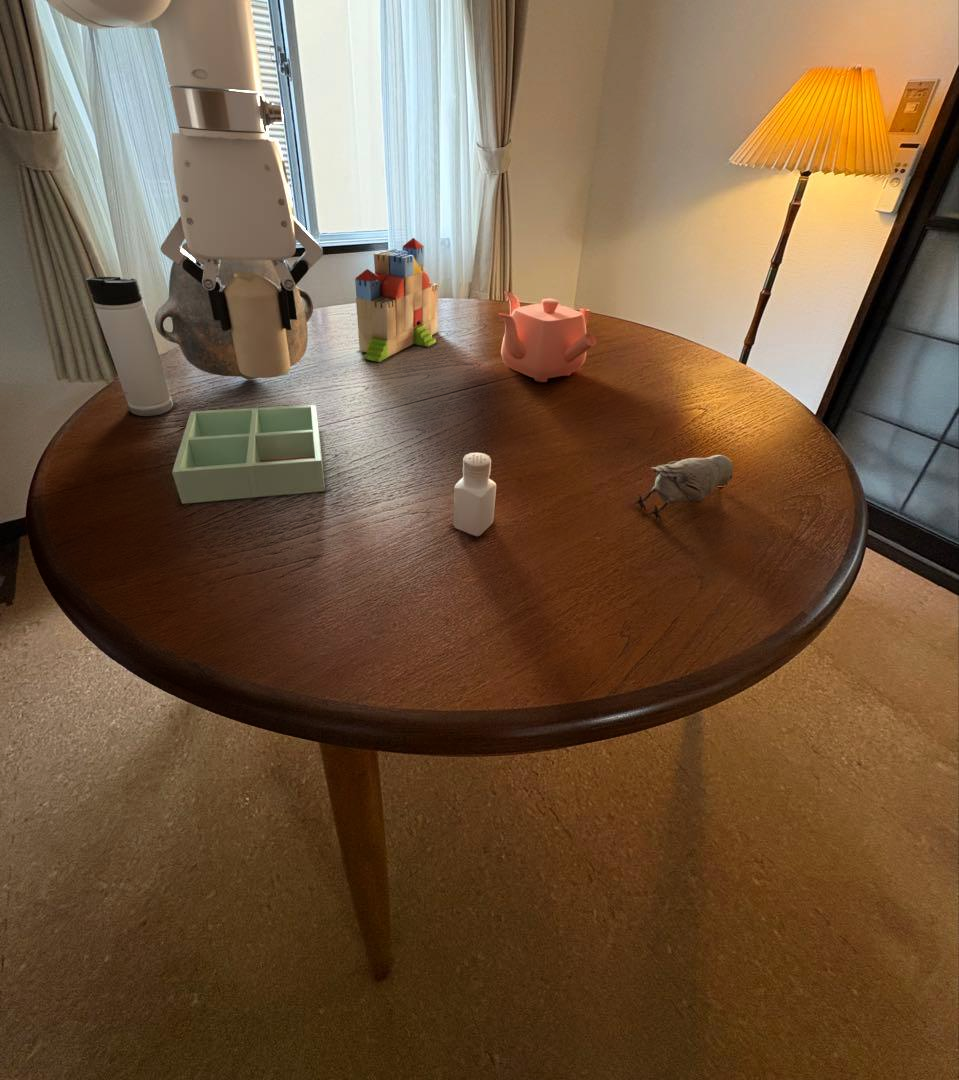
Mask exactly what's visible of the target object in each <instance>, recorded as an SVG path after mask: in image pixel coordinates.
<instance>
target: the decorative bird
mask: <svg viewBox="0 0 959 1080" xmlns="http://www.w3.org/2000/svg"><path fill="white" fill-rule="evenodd" d="M649 468H650V469H654V470H652V472H653V473H656V475H657V476H656V477H655V481H654V486H653V487H652V488H651V489H650V490H649V492H648V493H647V495H646V496H645V497H644V498H643V497H642V495H641V494H638V496H639V498H638V500H637V501H636V502H634V503H633V504H634V505H636V504H638V505H639V506H640V508H639V510H640V511H641V510H642V508H643V509H644V512H647V511H646V510H647V509H646V505H645V504H644V501H646V500H648V498H649V497H650V496H651V495H652V494H653V493H657V494H658V496H659V497H660V498H661V500H662V501H663V502H665V503H664V504H663V505H662V506H661V507H660V508H658V506H657V505H656V504H655V505H654V507H655V508H654V510H653V511H652V512H650V513H649V515H654V516H655V521H658V519H659V520H660V522H662V517H661V515H660V512H662V511H663V510H664V509H665V508H666V507H667V505H670V504H684V503H689V501H690V502H694V503H700V502H702V501H704V500H706V498H707V497H708V496H709V495H710V494H711V493H712V492H713V491H714V490H715V488H717V489H719V490H722V489H724V488H725V487H717V486H724V485H727V486H728V484H729V482H730V481H731V480H732V479H733V475H734V464H733V462H732V461H731V459H730V458H729V457H727V455H723V454H714V455H711V456H708V457H689V458H685V459H684V458H683V459H681V460H673V461H670V462H668V463H666V464H663V465H657V466H654V467H653V466H652V467H649Z"/></svg>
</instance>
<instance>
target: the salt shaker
mask: <svg viewBox="0 0 959 1080" xmlns="http://www.w3.org/2000/svg"><path fill="white" fill-rule="evenodd" d="M491 468H492V459H491V457H490V455H488V454H486V453H484V452H483V453H482V452H469V453H467V454H465V455H464V457H463V458H462V475H463V476H462V478H460V479H459V480H458V481H457V483H456V484H455V485H454V488H453V490H454V491H453V510H452V511H453V512H452V525H453V527H454V529H457V530H459V531H462V532H464V533H466V534H468V535H471V536H474V537H479V536H481V535H483V533H484V532H485V531H487V529H488V528H489V527H490V526H492V524H493V523H494V518H495V517H494V515H495V504H496V495H497V494H496V493H497V484H496V482H495V481H494V480H493V479H491V478H490V476H491V470H492V469H491Z"/></svg>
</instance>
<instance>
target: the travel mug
mask: <svg viewBox="0 0 959 1080" xmlns="http://www.w3.org/2000/svg"><path fill="white" fill-rule="evenodd" d="M85 281H86V284H87V287H88V290H89V293H90V295H91V298H92V302H93V305H94V308H95V312H96V314H97V317H98V321H99V323H100V327H101V330H102V331H103V335H104V338H105V341H106V344H107V347H108V350H109V353H110V356H111V359H112V361H113V365H114V367H115V370H116V373H117V377H118V380H119V383H120V386H121V388H122V391H123V394H124V397H125V399H126V402H127V406H128V409H129V412H130V413H132V414H133V415H135V416H140V417H141V416H142V417H153V416H159V415H162V414H163V415H164V414H165V413H167V412H169V411H171V410H172V408H173V407H174V403H173V399H172V396H171V392H170V388H169V384H168V382H167V378H166V374H165V371H164V368H163V364H162V361H161V357H160V354H159V350H158V347H157V343H156V341H155V336H154V333H153V330H152V326H151V323H150V319H149V316H148V312H147V308H146V305H145V303H144V299H143V297H142V293H141V289H140V285H139V283H138V279H136V278H130V279H127V278H121V277H120V276H93V277H87V278H86V280H85Z"/></svg>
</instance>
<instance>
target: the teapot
mask: <svg viewBox="0 0 959 1080" xmlns="http://www.w3.org/2000/svg"><path fill="white" fill-rule="evenodd" d="M504 294H505V296H506V297H507V299H508V302H509V314H508V313H500V312H499V313H498V316H500V317H501V318H502V320H503V322H504V335H503V339H502V344H501V349H500V350H501V351H500V354H501V358H502V361H503V363H504V365H505V366H507V367H508V368H509V369H510V368H511V369H512V370H513V371H515V372H518V373H521V375H522V374H523V375H525V376H527V377H529V378H532V379H534V381H535V382H539V383H546V382H548V380H549V379H551V378H558V377H568V376H570V375H571V374H572V373H574V372H577V371H578V370H580V369H581V367H582V366H583V365H584V363H585V361H586V358H587V351H589V350H590V349H592V348H593V347H594V346H595V345H597V338H596V337H595V335H594V334H593V333H592V332H587V324H588V321H589V317H590V316H591V313H592V310H591V309H588V308H579V310H576V309H574V308H571V307H567V306H565V305H561V304H560V301H559V300H557V299H554V298H543V299H541V303H533V304H528V305H523V306H521V304H520V302H519V299H518V296H517V295H515V293H513V292H511V291H508V290H504ZM576 370H577V371H576Z"/></svg>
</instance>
